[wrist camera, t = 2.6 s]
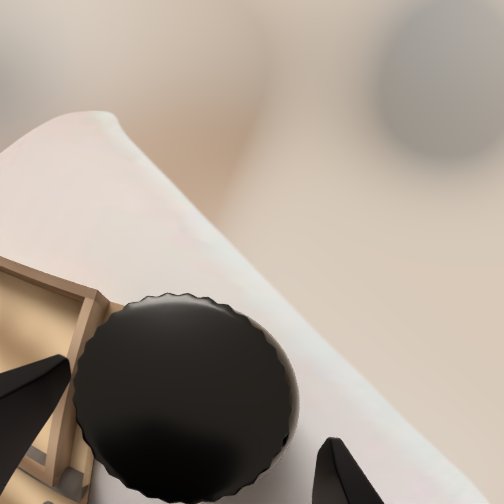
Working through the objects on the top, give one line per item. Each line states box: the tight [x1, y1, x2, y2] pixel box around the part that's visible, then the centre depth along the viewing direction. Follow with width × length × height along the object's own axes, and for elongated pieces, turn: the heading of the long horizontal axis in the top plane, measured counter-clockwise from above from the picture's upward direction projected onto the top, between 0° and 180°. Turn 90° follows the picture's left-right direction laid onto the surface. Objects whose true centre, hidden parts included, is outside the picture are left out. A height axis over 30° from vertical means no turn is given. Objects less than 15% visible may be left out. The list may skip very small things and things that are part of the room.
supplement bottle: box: [72, 293, 299, 504], centre depth 11 cm, size 7×7×12 cm
